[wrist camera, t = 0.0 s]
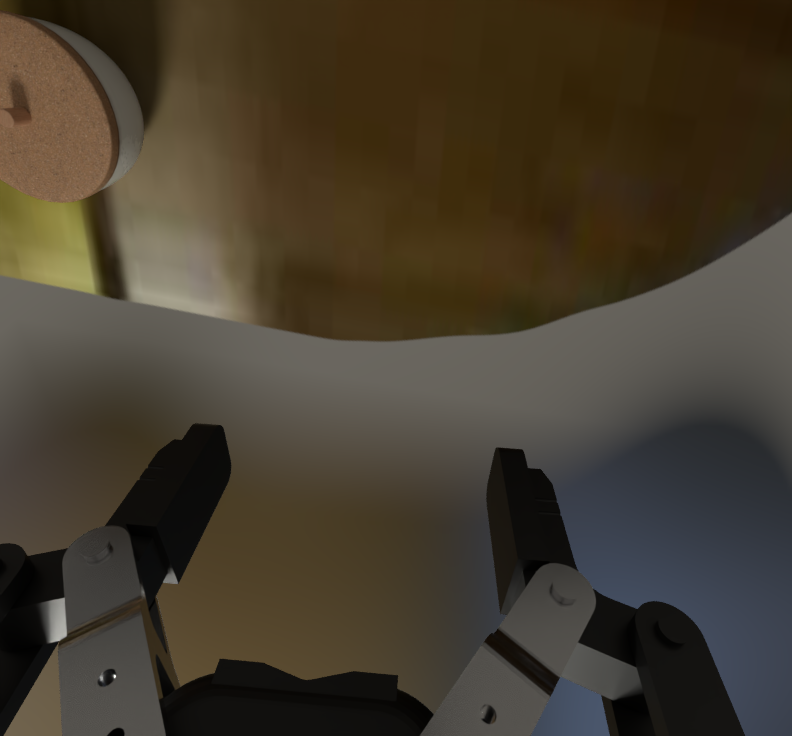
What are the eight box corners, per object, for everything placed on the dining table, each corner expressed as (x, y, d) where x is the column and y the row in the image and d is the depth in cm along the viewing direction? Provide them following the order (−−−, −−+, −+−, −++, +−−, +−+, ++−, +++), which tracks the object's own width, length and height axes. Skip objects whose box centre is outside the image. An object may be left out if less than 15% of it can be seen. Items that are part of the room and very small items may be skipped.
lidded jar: (181, 69, 34) (105, 69, 26) (156, 203, 39) (87, 237, 31) (28, -13, 32) (-105, -39, 24) (25, 141, 37) (-84, 160, 29)
